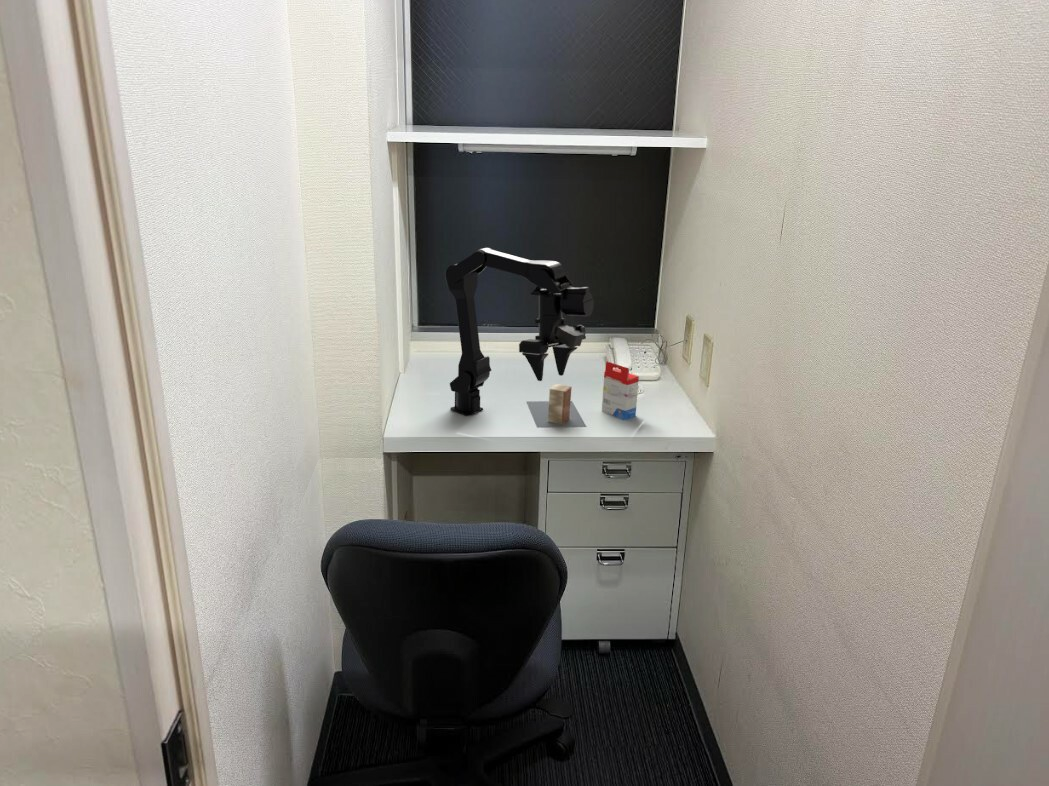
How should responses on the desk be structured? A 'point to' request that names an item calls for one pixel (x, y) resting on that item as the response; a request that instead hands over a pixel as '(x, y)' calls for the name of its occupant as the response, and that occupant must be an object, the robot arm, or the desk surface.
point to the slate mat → (541, 415)
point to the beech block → (559, 403)
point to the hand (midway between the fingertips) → (550, 378)
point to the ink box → (619, 391)
